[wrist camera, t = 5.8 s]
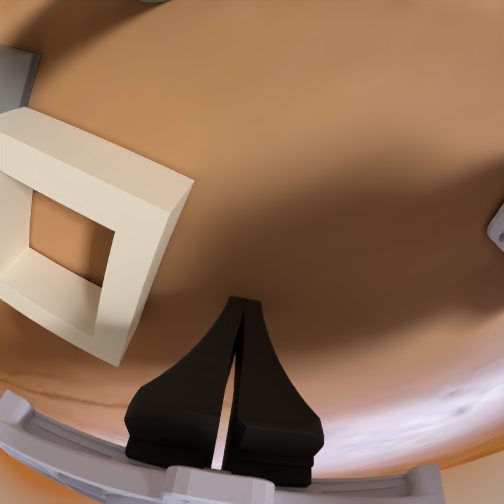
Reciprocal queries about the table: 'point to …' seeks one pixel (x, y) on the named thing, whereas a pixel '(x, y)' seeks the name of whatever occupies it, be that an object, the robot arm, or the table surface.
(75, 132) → the block
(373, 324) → the table surface
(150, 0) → the dowel
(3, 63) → the wall
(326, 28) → the table surface
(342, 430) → the table surface
